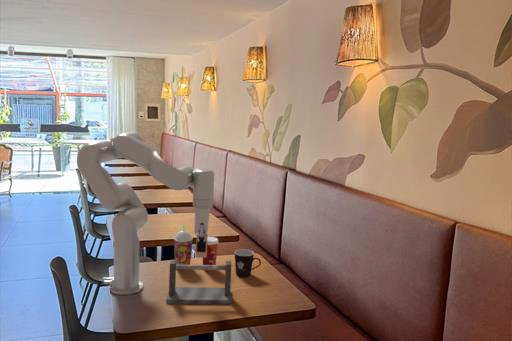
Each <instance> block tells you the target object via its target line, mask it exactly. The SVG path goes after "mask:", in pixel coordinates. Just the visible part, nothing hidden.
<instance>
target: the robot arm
mask: <svg viewBox="0 0 512 341" xmlns="http://www.w3.org/2000/svg"><path fill="white" fill-rule="evenodd" d="M121 158H124V159H126V160H128V162H132V163H134V164H135V165H137V166H138V167H140V168H143V169H144V170H145V171H146V172H147V173H148V174H149V175H150V176H151V177H152V178H154V180H156V181H157V182H159V183H160V184H162V185H164V186H166V187H168V188H170V189H172V190H175V191H184V190H185V189H186V188H189V187H193V188H192V189H193V190H192V191H193V192H192V207H193V208H195V210H194V226H193V227H194V235H197V234H198V241H197V252H205V251H206V241H205V235H206V234H208V230H209V225H210V224H209V223H210V213H211V212H210V210H211V209H212V208H213V207H214V189H215V188H214V187H215V172H214V171H213V170H212V169H208V168H196V167H191V166H182V167H180V168H177V167H175V166H172V165H170V164H169V163H167V162H166V161H165V160H163V159H162V158H161V156H160V152H159V150H158V149H156V148H155V147H153V146H151V145H149V144H147V143H145V141H144V139H143V137H142V136H141V135H140V134H138V133H137V132H123V133H120V134H117V135H116V136H115V137H112V138H108V139H104V140H103V139H102V140H94V141H91V142H87V143H86V144H83V145H82V147H80V149H79V150H78V153H77V156H76V164H77V169H78V171H79V172H80V174H81V175H82V177H83V178H84V180H85V181H86V183H88V185H89V187H90V189H91V190H92V192H93V194H94V195H95V197H96V198H97V200H98V202H99V203H100V204H101V206H102V207H103V209H104V210H106V211H108V212H115V211H117V210H119V212H118V213H117V214H116V215H115V216H114V217H113V218H112V222H111V231H112V237H113V238H112V239H113V276H111V277H107V276H104V277H102V283H103V284H104V285H110V286H109V292H111V293H112V294H114V295H119V296H122V295H123V296H126V295H127V296H128V295H133V294H137V293H138V292H141V291H142V290H143V289H144V283H143V282H142V281H140V238H139V234H138V231H139V230H140V229H141V228H143V227H144V226H145V225H146V224H147V223H148V221H149V213H148V210H147V209H146V207H145V205H144V204H143V202H142V201H141V199H140V197H139V196H138V194H137V193H136V191H135V190H134V189H133V188H132V186H131V185H129V184H128V183H126V182H118V183H116V182H115V180H114V179H113V177H112V176H111V174H110V172H109V171H108V170H107V169H106V168H104V167H103V166H102V164H103V163H107V162H110V161H114V160H118V159H121ZM199 235H200V236H199ZM203 235H204V236H203Z"/></svg>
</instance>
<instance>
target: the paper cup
mask: <svg viewBox="0 0 512 341" xmlns="http://www.w3.org/2000/svg"><path fill="white" fill-rule="evenodd" d="M218 245H219V239H218V238H217V237H214V236H207V258H202V265H217V256H218ZM204 271H206V272H214V270H204Z"/></svg>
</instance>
